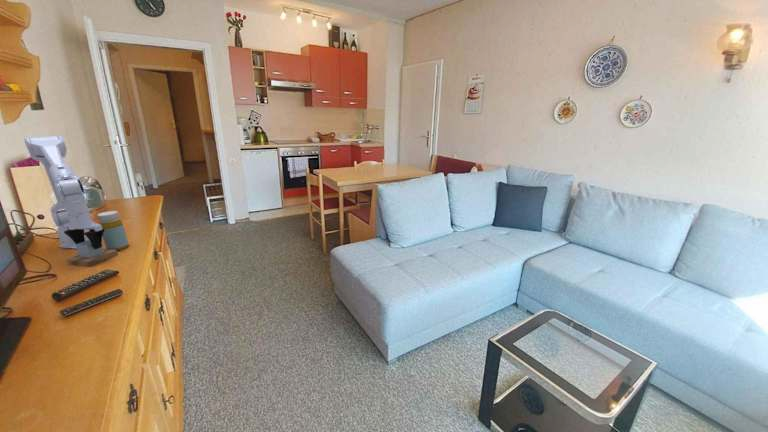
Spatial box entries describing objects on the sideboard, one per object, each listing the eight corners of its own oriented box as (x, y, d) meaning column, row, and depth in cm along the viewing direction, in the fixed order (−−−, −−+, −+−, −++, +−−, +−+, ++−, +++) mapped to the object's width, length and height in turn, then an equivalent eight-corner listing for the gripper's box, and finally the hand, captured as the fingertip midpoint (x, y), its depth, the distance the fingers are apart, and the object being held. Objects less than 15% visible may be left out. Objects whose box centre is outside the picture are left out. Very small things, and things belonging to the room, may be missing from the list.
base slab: (68, 264, 114) (66, 259, 113) (97, 252, 123) (95, 248, 123) (90, 266, 112) (88, 261, 112) (118, 254, 122) (116, 249, 121)
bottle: (116, 252, 123) (105, 216, 118) (102, 251, 125) (91, 215, 120) (133, 245, 130) (123, 211, 125) (119, 244, 131) (109, 210, 126)
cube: (79, 256, 115) (75, 244, 114) (93, 251, 120) (89, 239, 118) (90, 258, 114) (86, 245, 113) (104, 252, 119) (100, 240, 117)
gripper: (49, 215, 109) (62, 250, 114) (82, 217, 107) (94, 253, 111) (71, 209, 116) (83, 242, 120) (103, 211, 113) (114, 245, 118)
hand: (90, 247), depth 116 cm, fingers open, 7 cm apart
